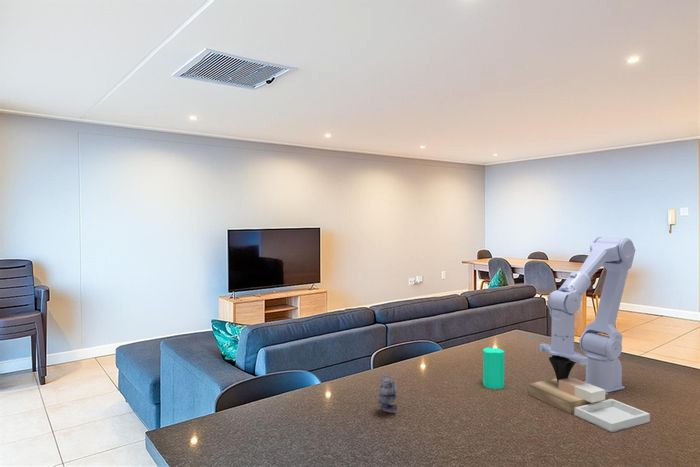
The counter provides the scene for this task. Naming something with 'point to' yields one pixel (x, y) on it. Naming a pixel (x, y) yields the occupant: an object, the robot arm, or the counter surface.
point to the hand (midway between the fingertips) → (562, 383)
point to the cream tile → (589, 393)
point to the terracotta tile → (569, 385)
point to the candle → (493, 368)
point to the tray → (612, 415)
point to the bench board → (557, 395)
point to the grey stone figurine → (387, 394)
